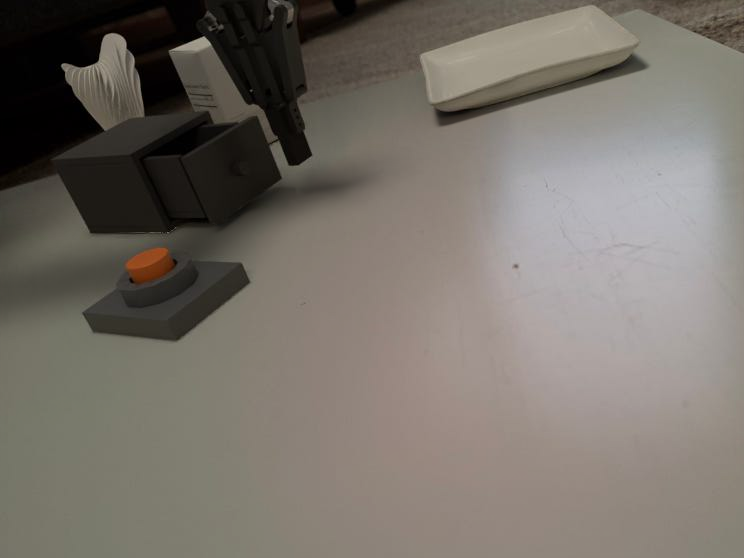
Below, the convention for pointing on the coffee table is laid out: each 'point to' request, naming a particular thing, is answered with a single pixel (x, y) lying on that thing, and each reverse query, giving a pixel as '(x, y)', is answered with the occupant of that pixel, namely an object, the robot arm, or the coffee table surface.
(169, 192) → the pull-out drawer with knob
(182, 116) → the grey drawer box
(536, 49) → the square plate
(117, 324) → the control block
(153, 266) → the button
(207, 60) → the rectangular carton
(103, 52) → the shell sculpture
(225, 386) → the coffee table surface
